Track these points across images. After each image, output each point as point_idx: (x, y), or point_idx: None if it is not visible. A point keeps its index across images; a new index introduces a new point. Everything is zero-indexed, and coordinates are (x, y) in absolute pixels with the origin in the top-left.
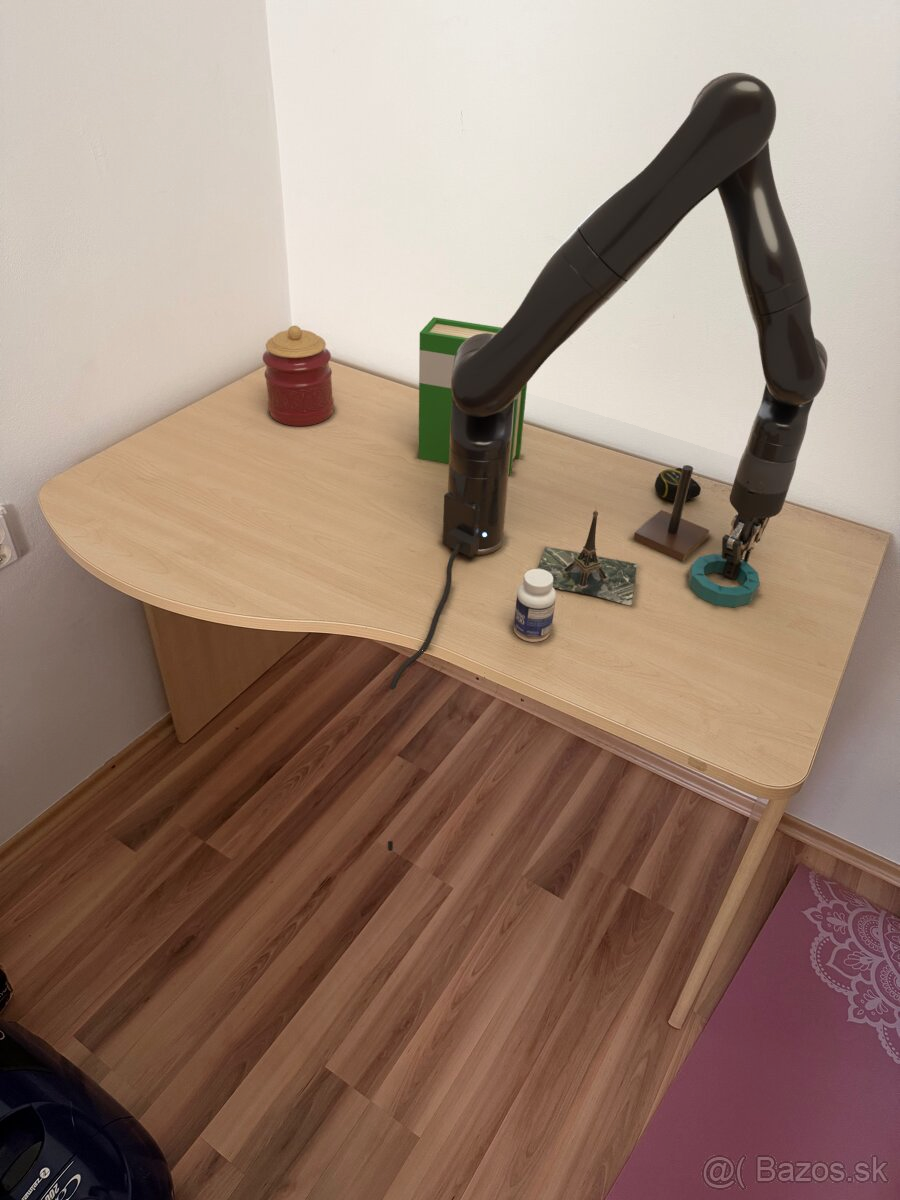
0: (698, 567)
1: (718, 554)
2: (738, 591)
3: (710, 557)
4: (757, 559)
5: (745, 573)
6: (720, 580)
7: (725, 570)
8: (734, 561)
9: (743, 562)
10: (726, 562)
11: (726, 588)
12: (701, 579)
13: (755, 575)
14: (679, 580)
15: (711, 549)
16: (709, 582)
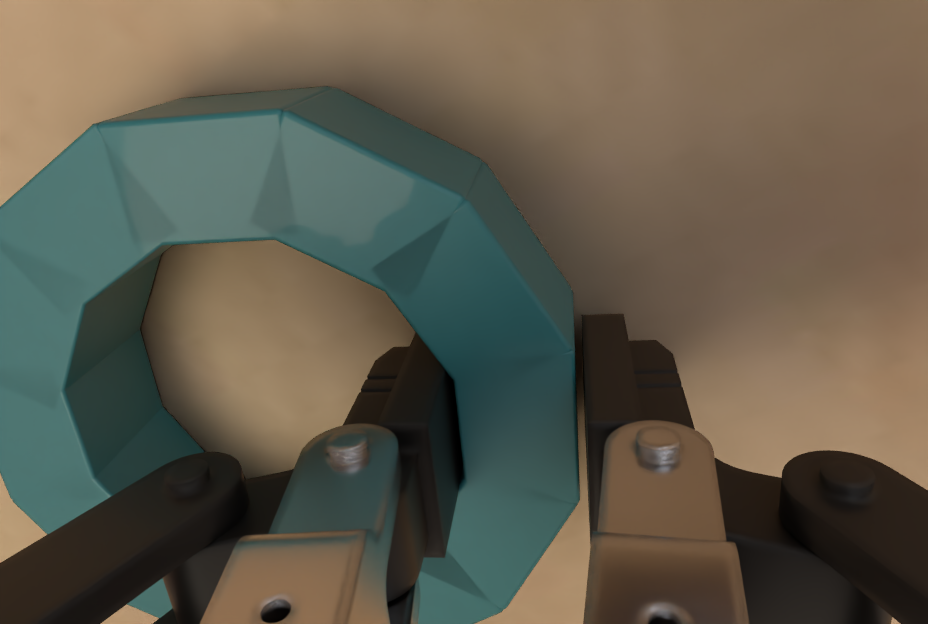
0: (114, 208)
1: (486, 244)
2: (159, 591)
3: (365, 209)
4: (885, 415)
5: None
6: (365, 324)
7: (369, 377)
8: (168, 616)
9: (552, 478)
10: (395, 384)
11: None
12: (2, 324)
13: (449, 612)
14: (71, 69)
15: (762, 10)
16: (36, 393)
